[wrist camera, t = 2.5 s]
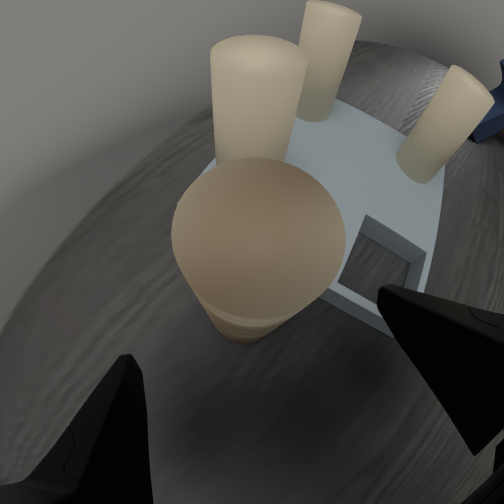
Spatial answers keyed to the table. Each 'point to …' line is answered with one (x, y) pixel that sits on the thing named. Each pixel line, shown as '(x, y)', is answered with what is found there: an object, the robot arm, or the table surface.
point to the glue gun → (492, 114)
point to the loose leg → (257, 244)
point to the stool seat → (343, 138)
